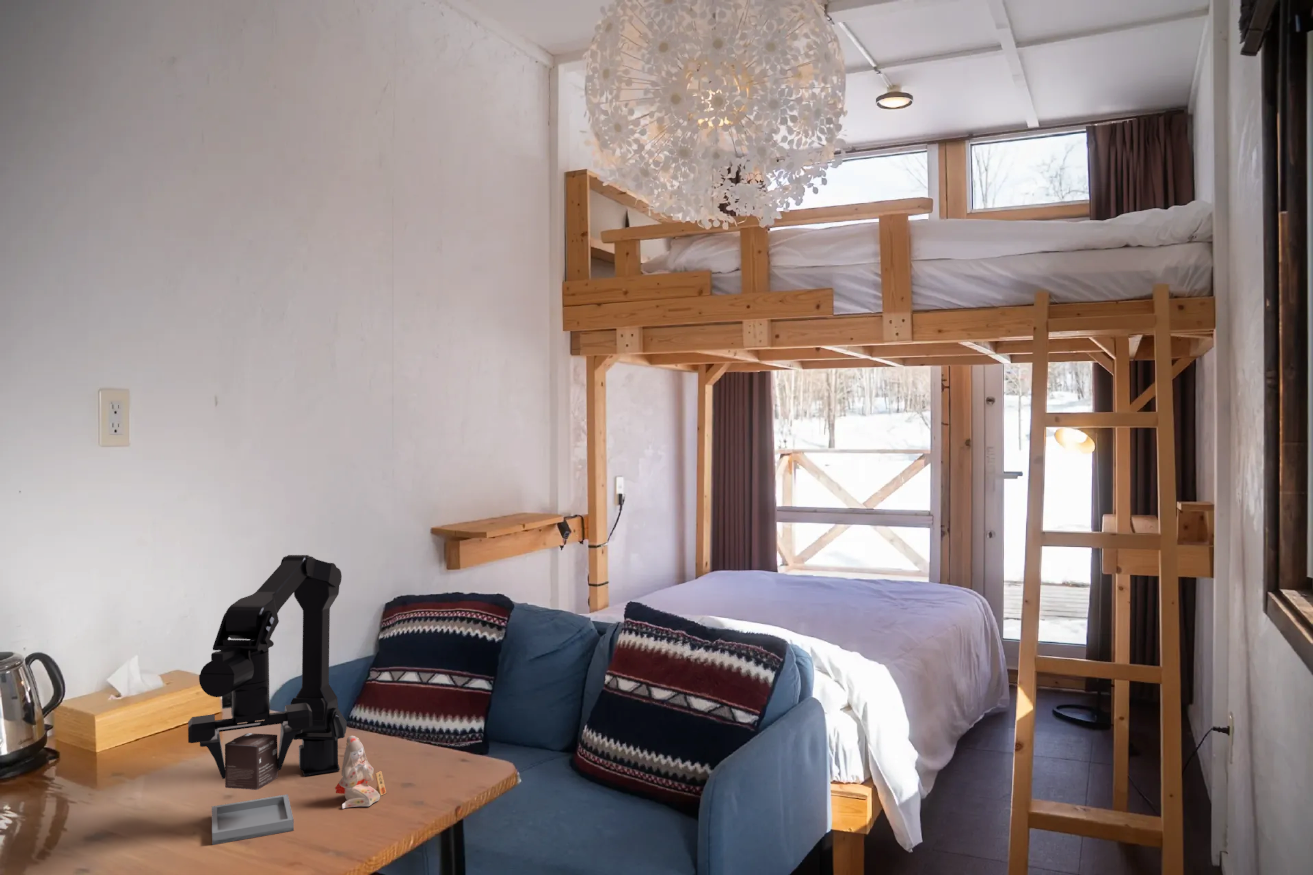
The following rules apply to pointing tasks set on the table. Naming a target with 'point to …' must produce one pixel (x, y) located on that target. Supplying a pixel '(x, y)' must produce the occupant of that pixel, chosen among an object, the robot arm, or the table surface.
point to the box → (251, 761)
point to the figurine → (358, 777)
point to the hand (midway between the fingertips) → (251, 773)
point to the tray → (251, 819)
